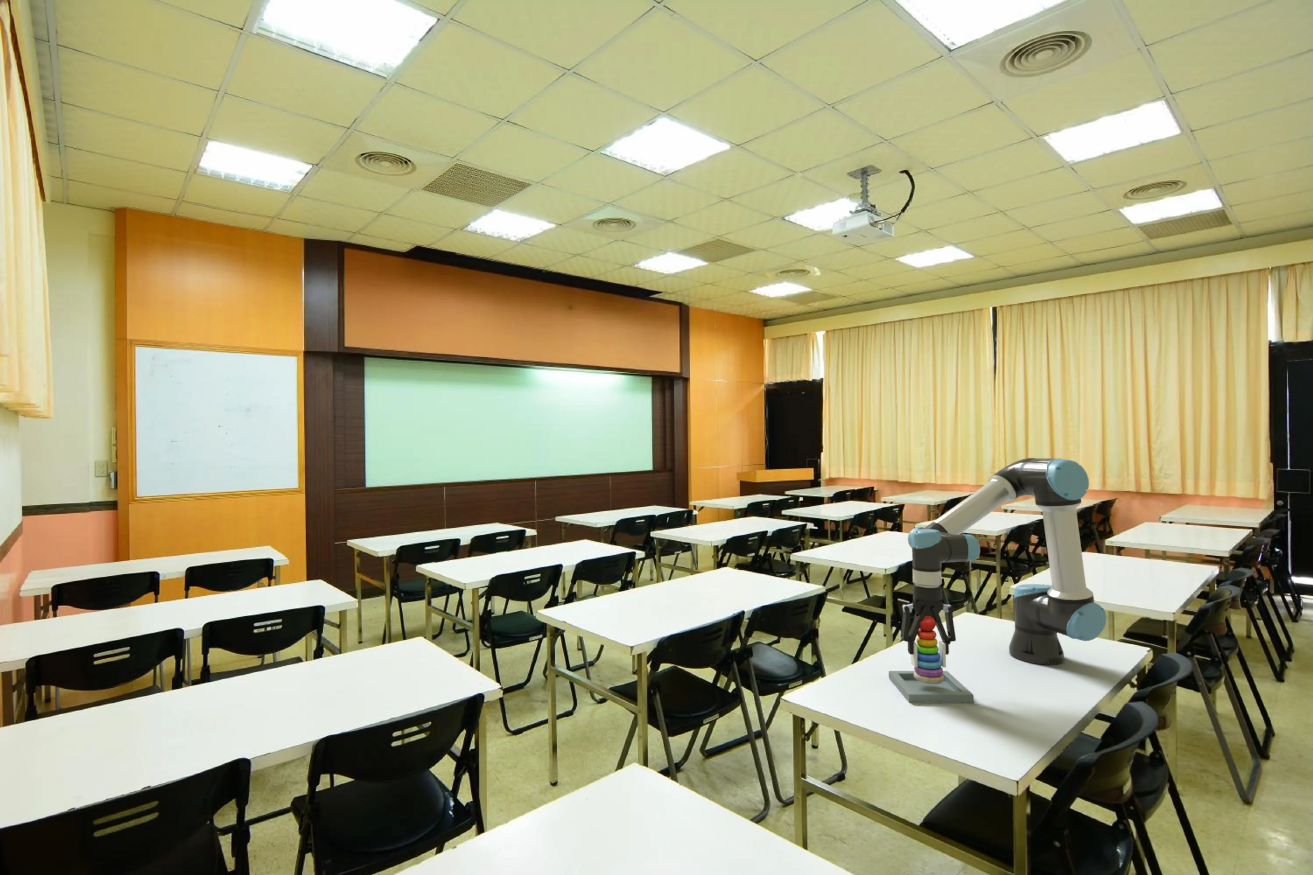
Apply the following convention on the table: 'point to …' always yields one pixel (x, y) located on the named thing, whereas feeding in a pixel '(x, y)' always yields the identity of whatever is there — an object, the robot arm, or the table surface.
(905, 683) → the gray square tray
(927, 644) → the stacking toy
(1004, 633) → the table surface
